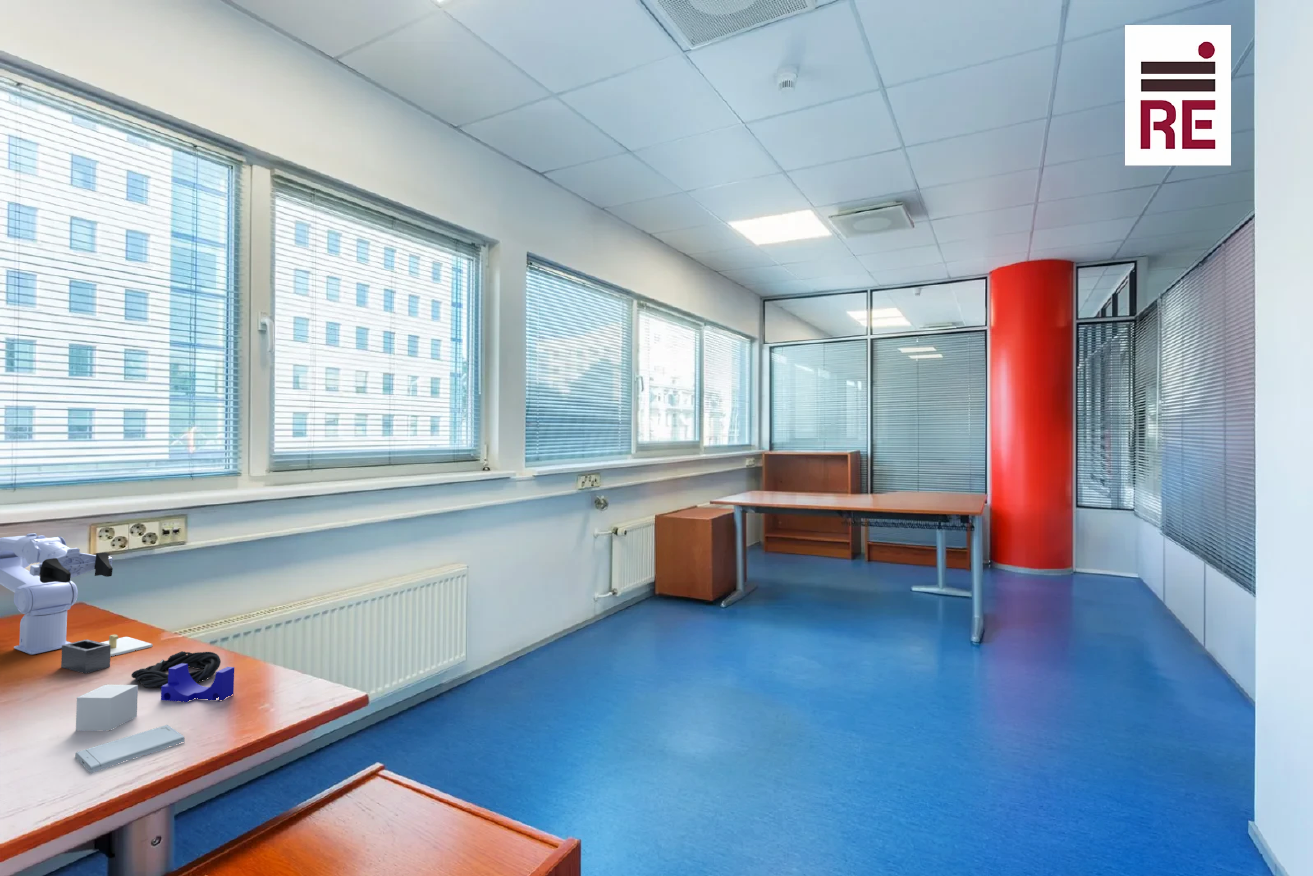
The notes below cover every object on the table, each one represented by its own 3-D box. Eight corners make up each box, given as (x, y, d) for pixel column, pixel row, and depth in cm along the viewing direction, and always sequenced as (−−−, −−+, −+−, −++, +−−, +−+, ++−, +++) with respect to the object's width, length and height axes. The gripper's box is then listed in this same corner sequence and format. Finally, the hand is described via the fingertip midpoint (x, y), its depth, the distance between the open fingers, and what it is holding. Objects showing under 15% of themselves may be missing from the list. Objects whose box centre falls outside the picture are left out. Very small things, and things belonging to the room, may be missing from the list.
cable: (231, 678, 137) (232, 658, 137) (153, 699, 125) (154, 677, 125) (198, 661, 146) (198, 643, 146) (123, 679, 135) (123, 659, 135)
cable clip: (160, 701, 124) (161, 671, 124) (180, 692, 129) (181, 663, 129) (215, 705, 123) (216, 675, 123) (233, 696, 127) (234, 667, 127)
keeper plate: (66, 652, 149) (67, 637, 149) (126, 638, 160) (127, 624, 160) (92, 661, 144) (92, 645, 144) (152, 646, 155) (152, 632, 155)
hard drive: (166, 723, 112) (75, 750, 102) (185, 736, 108) (90, 766, 97) (166, 732, 112) (74, 760, 102) (184, 746, 108) (90, 776, 97)
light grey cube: (109, 731, 111) (110, 698, 111) (75, 731, 111) (76, 697, 111) (137, 716, 117) (138, 684, 117) (104, 716, 117) (105, 684, 117)
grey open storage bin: (61, 667, 140) (61, 645, 140) (85, 660, 144) (86, 639, 144) (85, 673, 136) (86, 651, 136) (109, 666, 141) (110, 644, 141)
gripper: (23, 547, 142) (50, 563, 136) (101, 539, 155) (129, 553, 149) (19, 577, 142) (46, 594, 136) (98, 567, 155) (126, 582, 149)
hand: (89, 575), depth 143 cm, fingers open, 7 cm apart
